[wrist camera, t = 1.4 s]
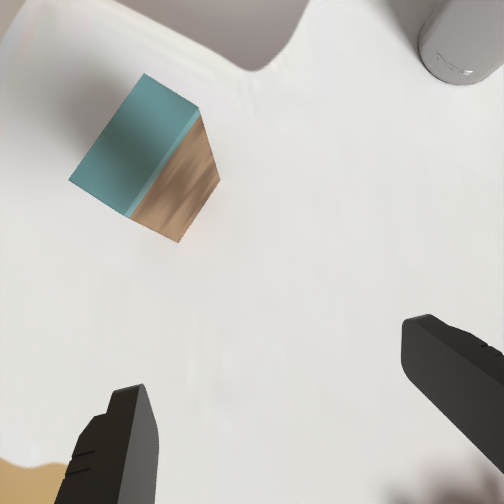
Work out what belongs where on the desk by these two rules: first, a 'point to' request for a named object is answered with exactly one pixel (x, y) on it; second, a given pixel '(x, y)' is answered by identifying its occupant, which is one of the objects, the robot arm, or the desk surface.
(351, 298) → the desk surface
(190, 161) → the walnut block
